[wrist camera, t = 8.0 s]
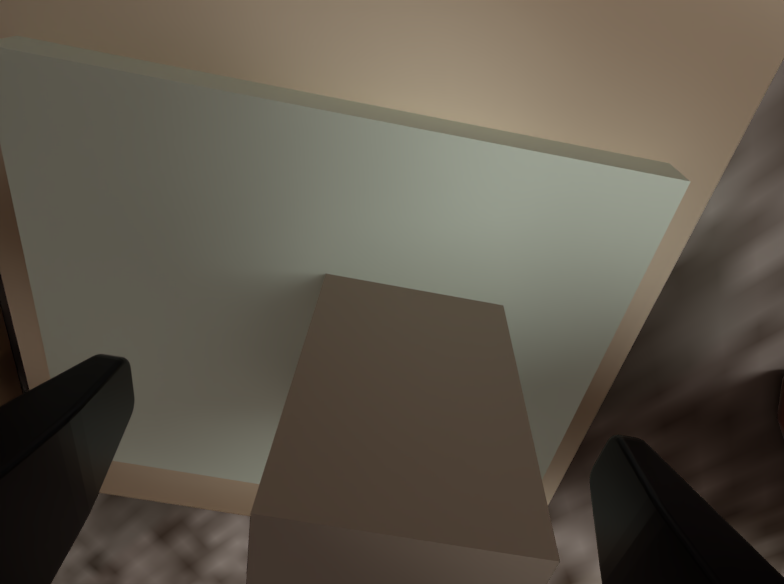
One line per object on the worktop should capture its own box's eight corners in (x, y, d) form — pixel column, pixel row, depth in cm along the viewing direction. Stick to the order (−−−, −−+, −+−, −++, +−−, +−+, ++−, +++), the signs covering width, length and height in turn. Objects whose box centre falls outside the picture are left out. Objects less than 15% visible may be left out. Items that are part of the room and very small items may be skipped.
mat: (518, 544, 14) (520, 558, 14) (61, 472, 14) (52, 485, 13) (796, -1, 8) (813, 1, 7) (-89, -189, 7) (-115, -196, 7)
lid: (514, 495, 13) (562, 788, 8) (86, 425, 12) (-110, 698, 8) (670, 163, 8) (946, 401, 4) (16, 35, 8) (-514, 141, 3)
